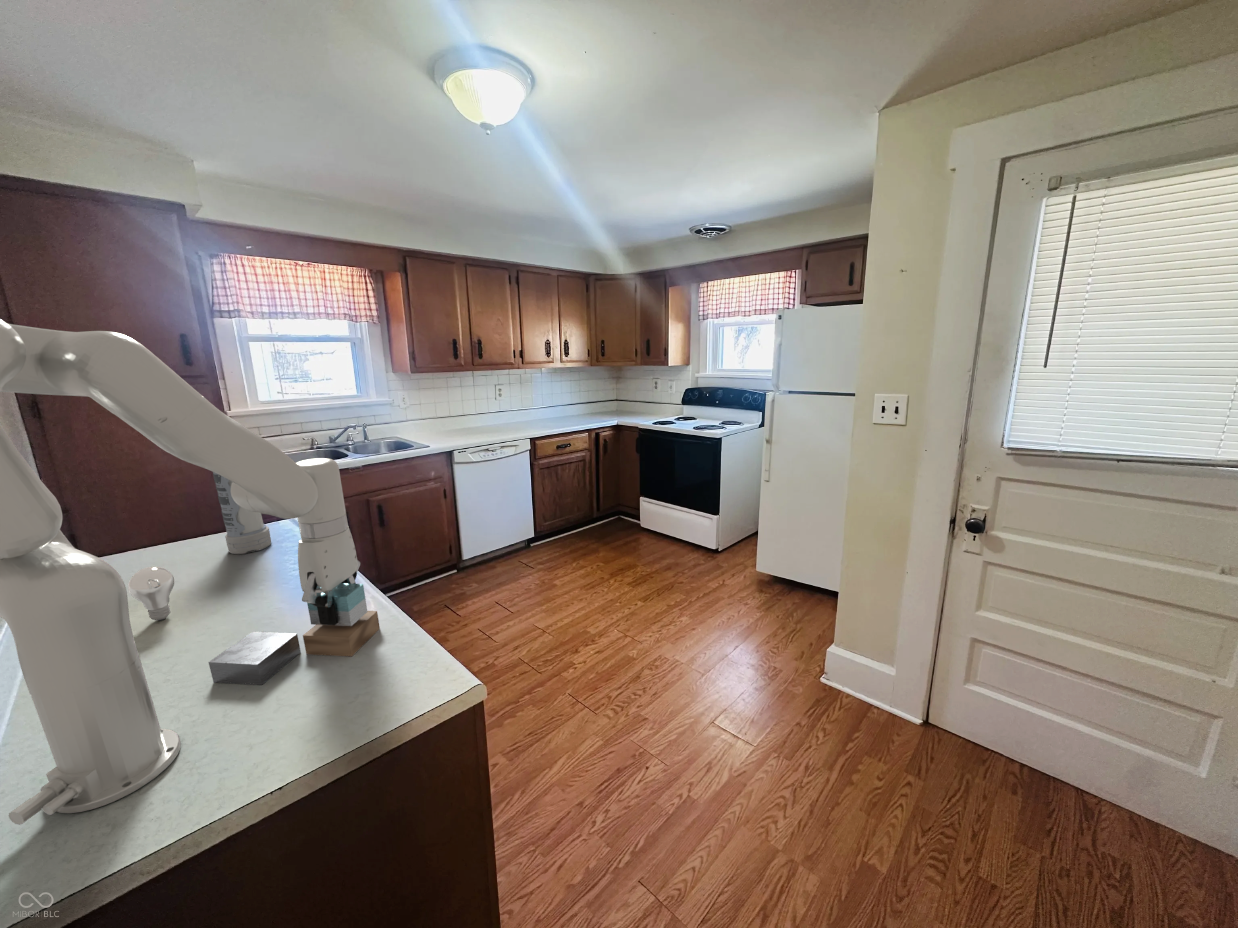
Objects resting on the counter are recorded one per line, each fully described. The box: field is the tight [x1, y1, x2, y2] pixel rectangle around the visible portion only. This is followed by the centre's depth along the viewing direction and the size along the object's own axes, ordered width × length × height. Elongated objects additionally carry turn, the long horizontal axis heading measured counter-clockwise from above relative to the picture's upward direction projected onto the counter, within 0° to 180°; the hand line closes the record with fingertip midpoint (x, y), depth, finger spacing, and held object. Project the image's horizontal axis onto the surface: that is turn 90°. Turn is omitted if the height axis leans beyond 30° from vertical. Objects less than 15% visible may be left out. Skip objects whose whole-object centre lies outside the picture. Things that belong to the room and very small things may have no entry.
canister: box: [212, 471, 272, 555], centre depth 136 cm, size 10×10×30 cm
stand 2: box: [302, 610, 381, 658], centre depth 93 cm, size 9×9×4 cm
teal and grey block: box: [306, 583, 368, 626], centre depth 92 cm, size 8×5×6 cm, turn 85°
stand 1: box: [208, 631, 302, 686], centre depth 86 cm, size 9×9×4 cm
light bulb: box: [127, 565, 175, 622], centre depth 101 cm, size 7×7×12 cm
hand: (339, 614), depth 92 cm, fingers closed on teal and grey block, 5 cm apart
